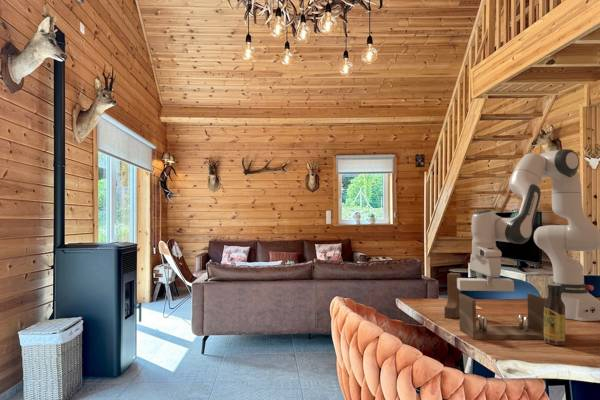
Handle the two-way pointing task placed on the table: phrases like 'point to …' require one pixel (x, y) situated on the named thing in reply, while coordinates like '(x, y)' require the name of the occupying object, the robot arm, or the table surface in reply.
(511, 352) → the table surface
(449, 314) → the wooden block
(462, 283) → the white rectangular block
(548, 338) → the sauce bottle
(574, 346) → the table surface
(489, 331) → the brown open-topped frame
